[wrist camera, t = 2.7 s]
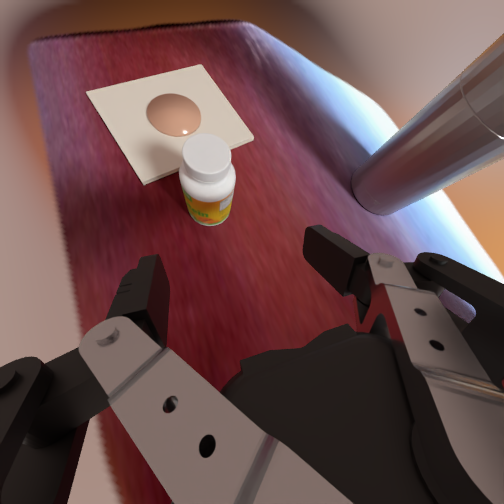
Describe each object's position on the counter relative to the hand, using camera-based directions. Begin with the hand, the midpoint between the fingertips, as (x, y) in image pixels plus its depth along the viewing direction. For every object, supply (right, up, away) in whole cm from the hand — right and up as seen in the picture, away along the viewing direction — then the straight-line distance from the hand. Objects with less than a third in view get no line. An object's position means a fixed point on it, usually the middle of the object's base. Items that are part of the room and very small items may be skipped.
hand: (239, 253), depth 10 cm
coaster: (-10, +19, +16) cm, 27 cm away
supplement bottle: (-5, +6, +15) cm, 16 cm away
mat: (-10, +19, +17) cm, 27 cm away
